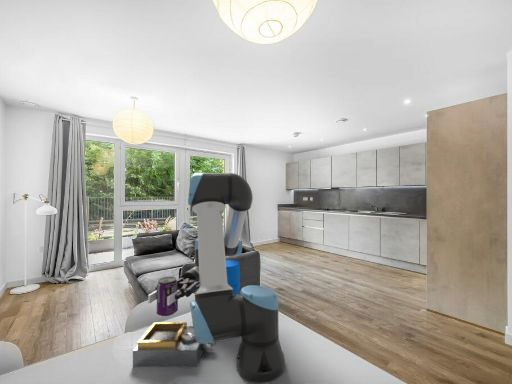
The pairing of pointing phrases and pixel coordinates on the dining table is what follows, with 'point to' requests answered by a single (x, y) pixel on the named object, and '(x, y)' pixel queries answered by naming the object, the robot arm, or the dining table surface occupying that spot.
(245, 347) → the robot arm
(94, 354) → the dining table surface
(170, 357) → the grey holder stand
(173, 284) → the beverage can
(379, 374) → the dining table surface
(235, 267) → the thermos
